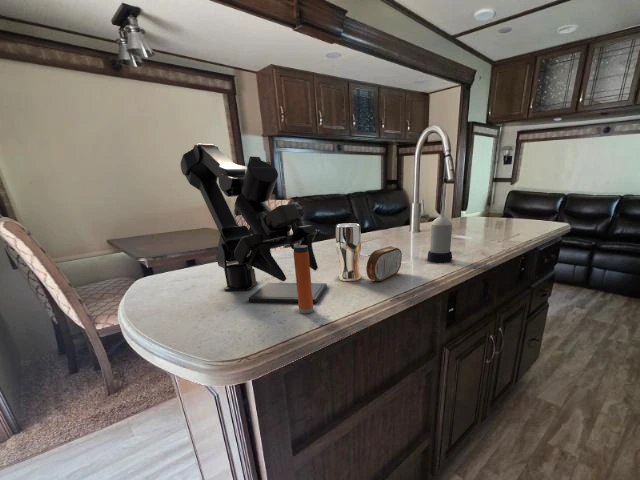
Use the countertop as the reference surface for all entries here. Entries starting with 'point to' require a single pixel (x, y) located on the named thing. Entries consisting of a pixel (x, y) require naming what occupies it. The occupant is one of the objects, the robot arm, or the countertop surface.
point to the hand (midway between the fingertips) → (301, 274)
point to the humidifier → (441, 237)
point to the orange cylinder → (303, 278)
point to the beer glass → (348, 250)
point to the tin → (384, 263)
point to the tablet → (285, 293)
